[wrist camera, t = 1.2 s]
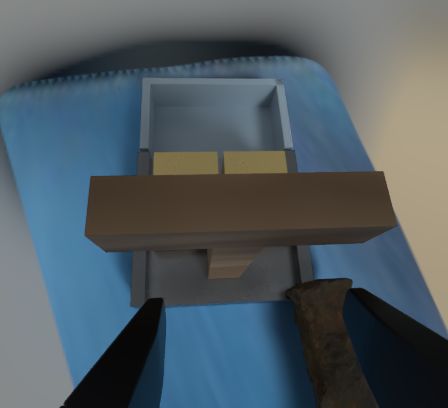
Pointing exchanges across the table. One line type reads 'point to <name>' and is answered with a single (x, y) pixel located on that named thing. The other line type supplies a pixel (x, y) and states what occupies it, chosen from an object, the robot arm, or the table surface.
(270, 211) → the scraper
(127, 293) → the table surface
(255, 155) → the chip
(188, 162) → the chip
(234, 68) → the table surface
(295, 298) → the hand tool
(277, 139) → the tray
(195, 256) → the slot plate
